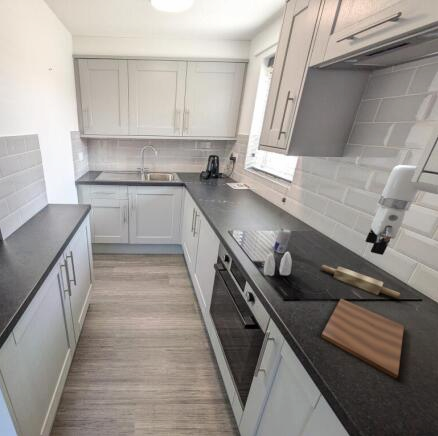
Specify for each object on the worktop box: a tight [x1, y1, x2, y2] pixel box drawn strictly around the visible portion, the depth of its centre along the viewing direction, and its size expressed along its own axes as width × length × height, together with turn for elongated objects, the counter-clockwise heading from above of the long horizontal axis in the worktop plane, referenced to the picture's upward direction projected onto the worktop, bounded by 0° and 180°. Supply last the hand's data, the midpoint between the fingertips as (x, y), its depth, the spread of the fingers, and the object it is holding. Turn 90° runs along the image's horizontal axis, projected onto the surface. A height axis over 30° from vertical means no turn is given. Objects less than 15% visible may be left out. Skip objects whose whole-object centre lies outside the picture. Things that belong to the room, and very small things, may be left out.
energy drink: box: [273, 227, 292, 254], centre depth 115 cm, size 5×5×12 cm
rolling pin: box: [320, 264, 401, 300], centre depth 93 cm, size 24×4×4 cm, turn 41°
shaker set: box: [263, 251, 293, 277], centre depth 97 cm, size 12×4×11 cm, turn 89°
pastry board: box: [320, 298, 405, 379], centre depth 70 cm, size 24×16×2 cm, turn 131°
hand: (373, 247), depth 83 cm, fingers open, 9 cm apart
